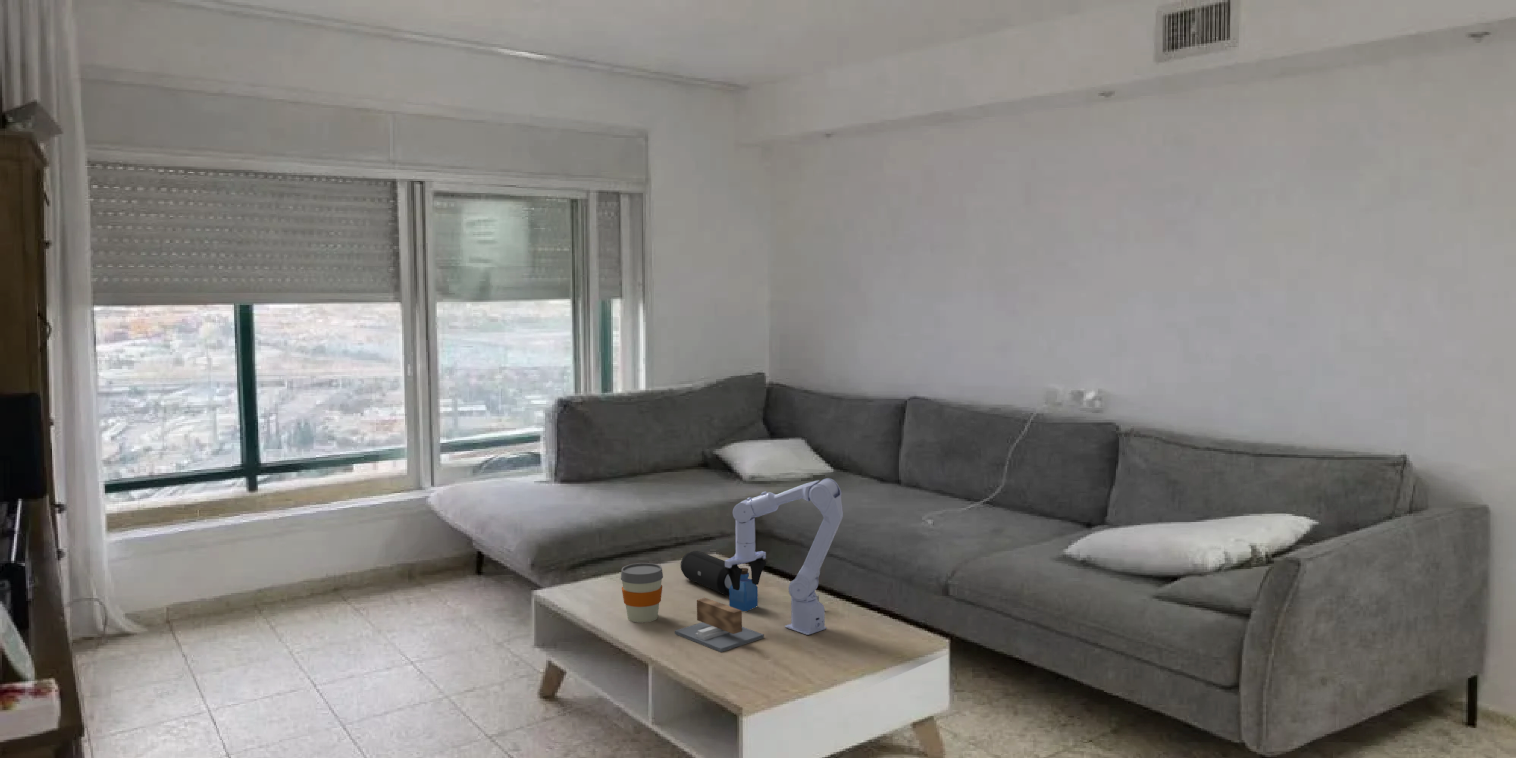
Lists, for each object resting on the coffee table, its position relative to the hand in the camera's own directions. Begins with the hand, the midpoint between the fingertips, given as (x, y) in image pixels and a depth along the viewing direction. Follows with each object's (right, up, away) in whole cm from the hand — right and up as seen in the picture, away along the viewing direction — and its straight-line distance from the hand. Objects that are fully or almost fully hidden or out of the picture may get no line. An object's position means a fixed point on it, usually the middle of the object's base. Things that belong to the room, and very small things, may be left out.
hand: (745, 586), depth 307 cm
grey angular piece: (+19, -10, +10) cm, 23 cm away
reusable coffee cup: (-31, -10, +5) cm, 33 cm away
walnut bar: (-7, -9, -12) cm, 16 cm away
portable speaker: (-12, -7, +35) cm, 38 cm away
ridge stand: (-7, -12, -11) cm, 18 cm away
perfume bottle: (-1, -9, +14) cm, 17 cm away
